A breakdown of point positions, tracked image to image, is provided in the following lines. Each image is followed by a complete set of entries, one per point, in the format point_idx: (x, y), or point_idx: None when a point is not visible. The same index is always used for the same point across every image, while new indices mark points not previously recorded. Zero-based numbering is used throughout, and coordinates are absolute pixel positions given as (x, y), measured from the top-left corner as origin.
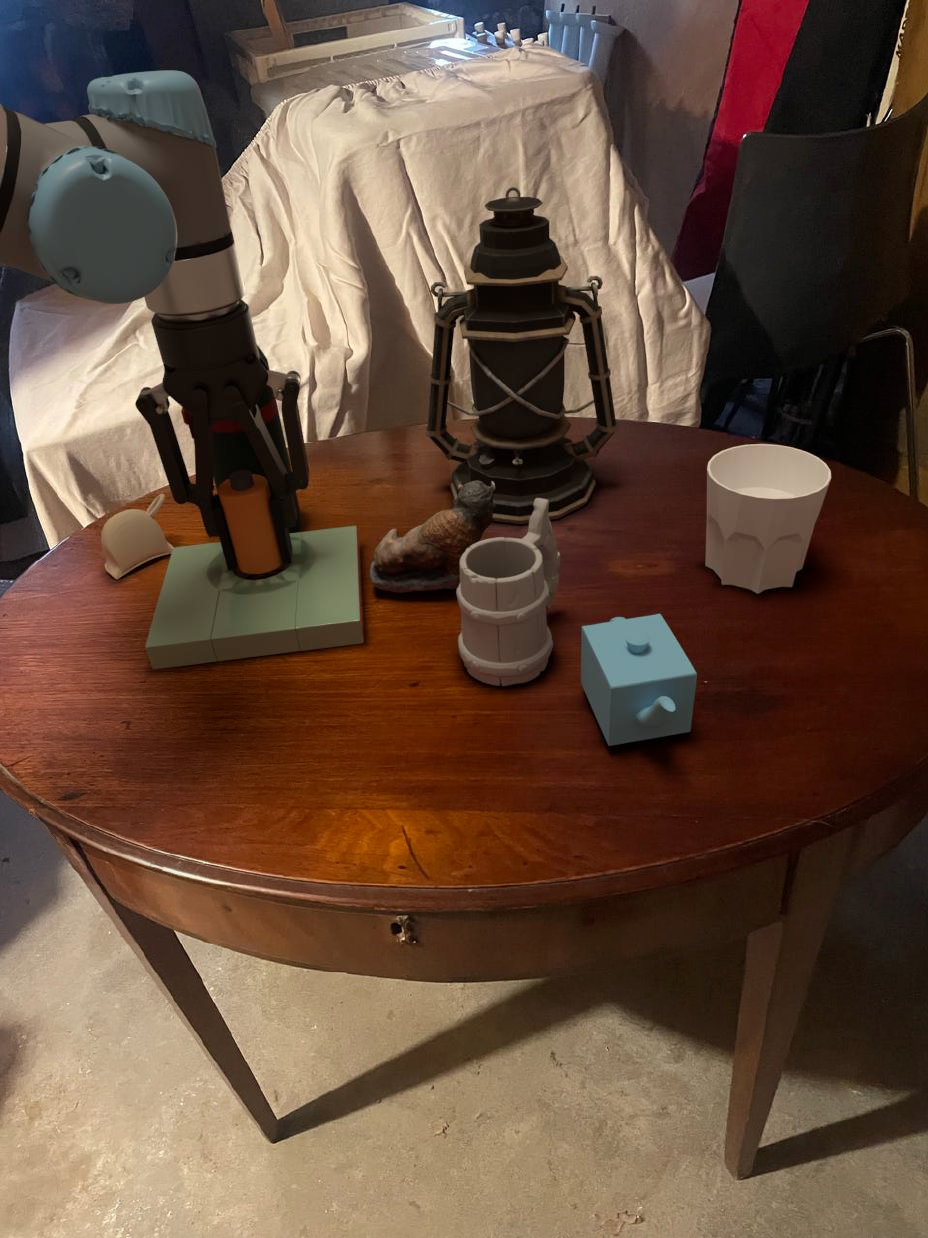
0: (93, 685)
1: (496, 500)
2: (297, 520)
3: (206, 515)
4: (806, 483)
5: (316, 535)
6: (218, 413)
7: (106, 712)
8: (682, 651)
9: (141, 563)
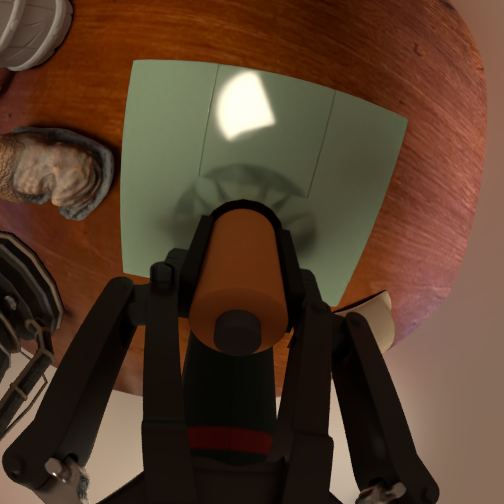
0: (439, 127)
1: (14, 259)
2: None
3: (312, 293)
4: None
5: None
6: (249, 488)
7: (432, 79)
8: None
9: (362, 304)
